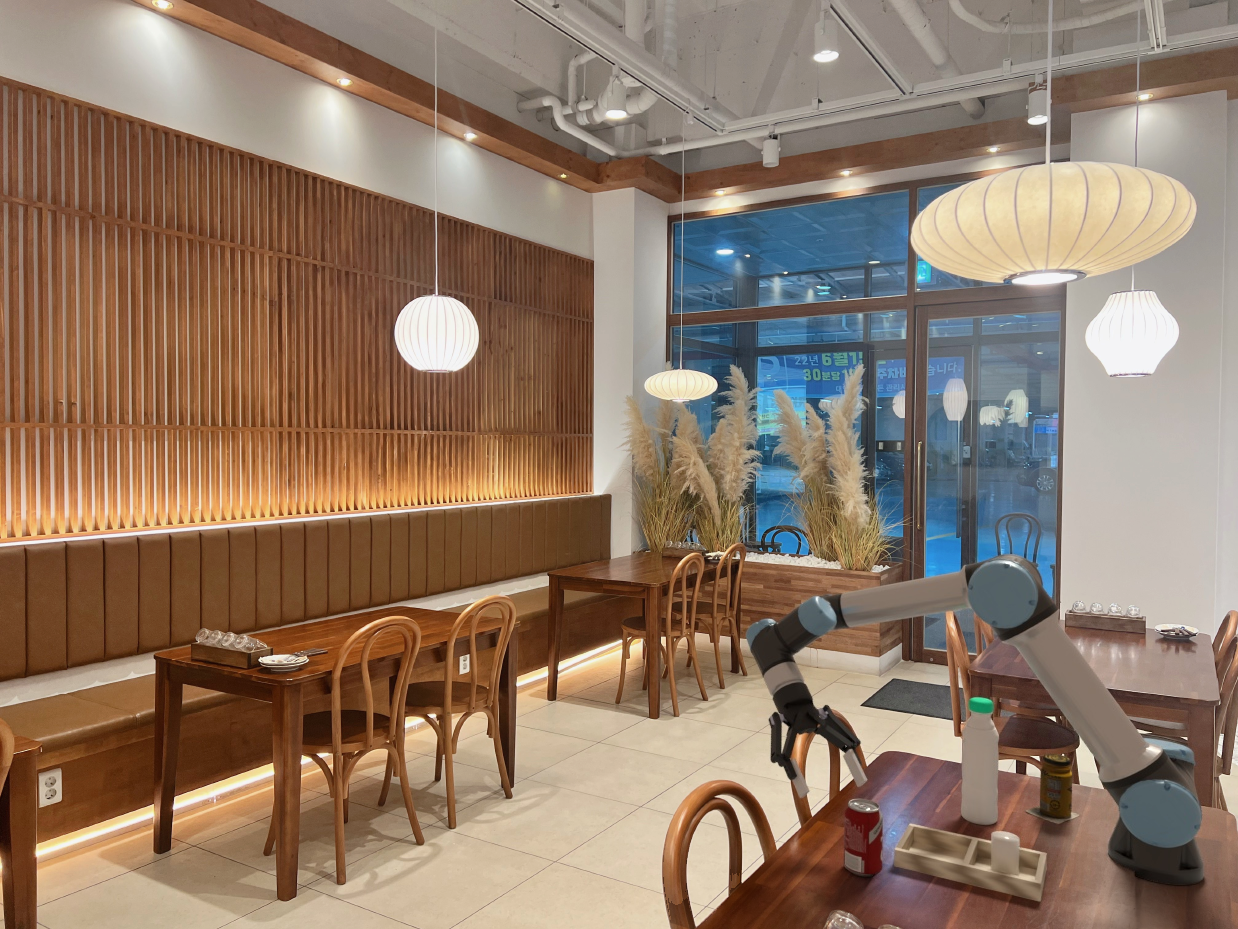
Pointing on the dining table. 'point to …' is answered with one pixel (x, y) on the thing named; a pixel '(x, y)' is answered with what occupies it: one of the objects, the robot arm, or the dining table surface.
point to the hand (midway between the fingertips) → (834, 789)
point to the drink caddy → (968, 861)
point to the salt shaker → (1005, 852)
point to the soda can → (863, 837)
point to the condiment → (1055, 790)
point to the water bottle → (980, 764)
